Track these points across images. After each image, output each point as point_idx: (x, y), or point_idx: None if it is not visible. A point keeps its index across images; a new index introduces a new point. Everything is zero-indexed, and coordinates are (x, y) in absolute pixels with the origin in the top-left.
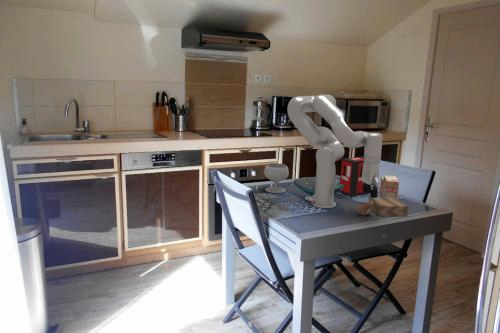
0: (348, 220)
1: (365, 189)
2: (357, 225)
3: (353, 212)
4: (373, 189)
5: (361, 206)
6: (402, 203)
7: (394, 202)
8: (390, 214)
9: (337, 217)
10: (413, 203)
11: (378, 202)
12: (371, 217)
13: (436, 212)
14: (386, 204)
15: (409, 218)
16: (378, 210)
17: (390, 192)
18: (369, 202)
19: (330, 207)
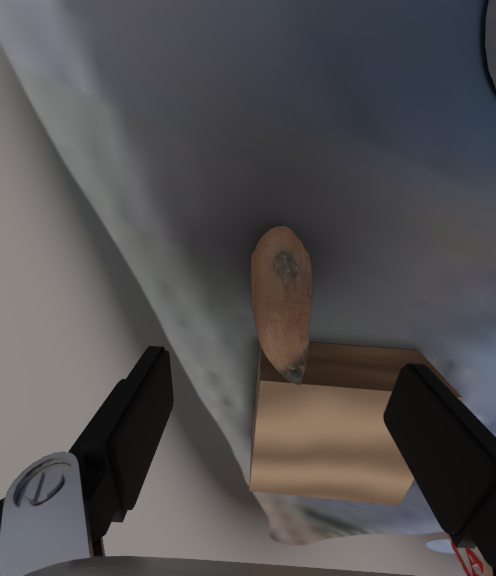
0: (179, 106)
1: (415, 411)
2: (91, 141)
3: (337, 216)
4: (37, 478)
5: (262, 254)
6: (295, 489)
7: (316, 469)
8: (256, 391)
9: (243, 17)
10: (391, 514)
11: (332, 401)
12: (239, 292)
13: (283, 522)
14: (286, 423)
15: (225, 434)
16: None
17: None
18: (278, 335)
19: (490, 19)
